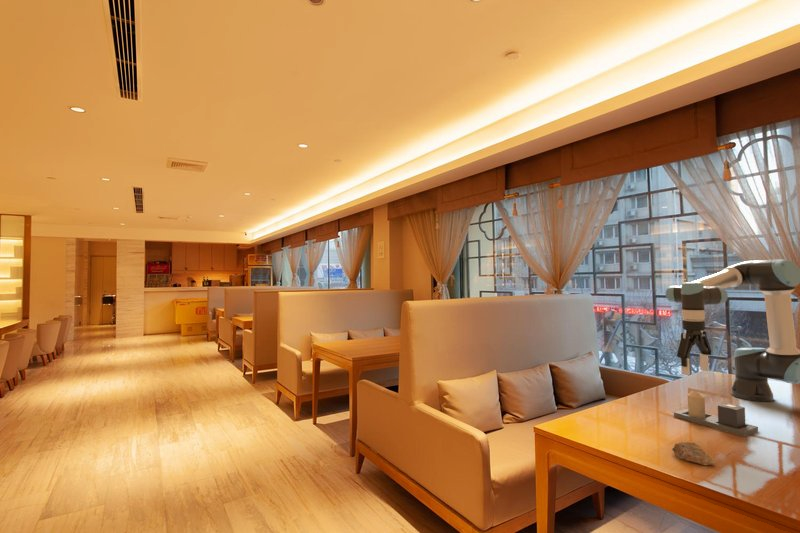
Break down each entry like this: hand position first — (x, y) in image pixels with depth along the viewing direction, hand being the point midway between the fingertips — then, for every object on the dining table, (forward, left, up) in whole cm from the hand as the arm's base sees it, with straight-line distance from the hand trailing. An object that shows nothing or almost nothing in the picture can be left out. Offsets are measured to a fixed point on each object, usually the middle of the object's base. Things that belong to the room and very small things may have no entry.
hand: (695, 372), depth 164 cm
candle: (0, 0, -18) cm, 18 cm away
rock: (+40, +19, -19) cm, 49 cm away
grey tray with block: (0, +6, -19) cm, 20 cm away
